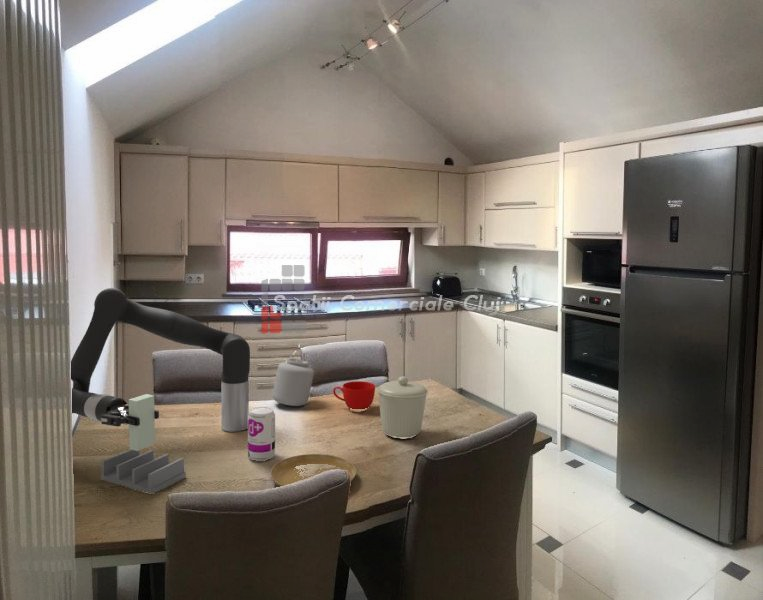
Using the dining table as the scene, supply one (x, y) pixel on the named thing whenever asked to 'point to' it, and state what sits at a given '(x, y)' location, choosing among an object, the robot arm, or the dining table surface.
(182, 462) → the dish rack
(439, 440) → the dining table surface
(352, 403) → the ceramic cup
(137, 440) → the green slab
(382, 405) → the canister
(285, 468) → the plant saucer
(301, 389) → the jar
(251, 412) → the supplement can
